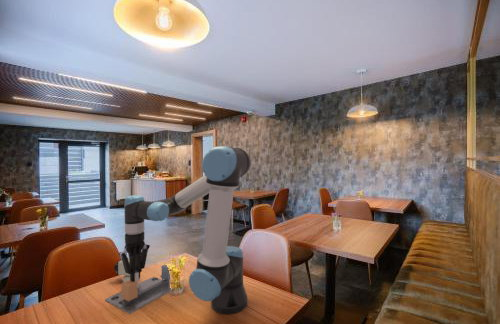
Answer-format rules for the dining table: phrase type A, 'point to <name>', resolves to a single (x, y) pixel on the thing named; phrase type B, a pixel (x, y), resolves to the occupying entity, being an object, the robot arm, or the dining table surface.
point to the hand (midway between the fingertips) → (135, 287)
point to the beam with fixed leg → (151, 287)
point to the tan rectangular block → (129, 290)
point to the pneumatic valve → (121, 270)
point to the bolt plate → (138, 304)
